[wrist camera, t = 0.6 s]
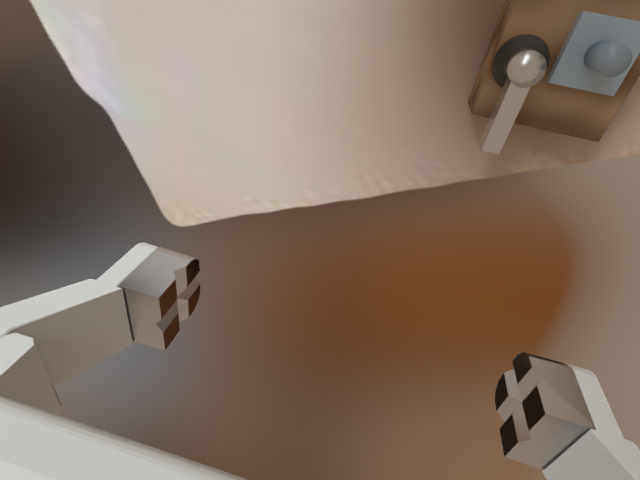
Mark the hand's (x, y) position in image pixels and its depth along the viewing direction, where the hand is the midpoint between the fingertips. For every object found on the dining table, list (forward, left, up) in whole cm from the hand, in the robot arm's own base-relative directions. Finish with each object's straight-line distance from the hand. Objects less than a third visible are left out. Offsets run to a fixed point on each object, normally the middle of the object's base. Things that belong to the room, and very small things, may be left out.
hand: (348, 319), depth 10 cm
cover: (-4, +16, -37) cm, 40 cm away
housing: (-3, +14, -42) cm, 44 cm away
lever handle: (+1, +10, -36) cm, 38 cm away
